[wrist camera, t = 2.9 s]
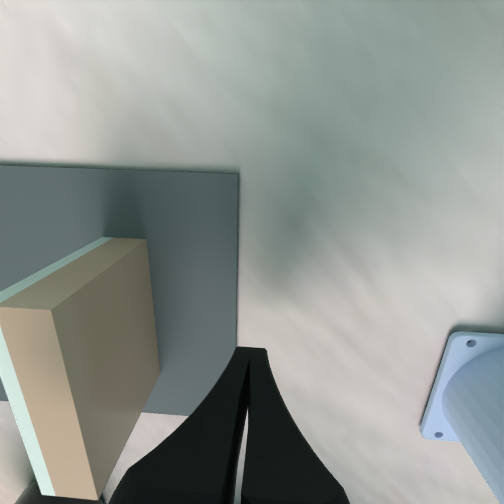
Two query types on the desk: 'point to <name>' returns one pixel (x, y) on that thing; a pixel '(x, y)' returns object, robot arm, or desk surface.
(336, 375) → the desk surface
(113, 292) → the tile
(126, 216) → the mat
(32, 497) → the supplement bottle
